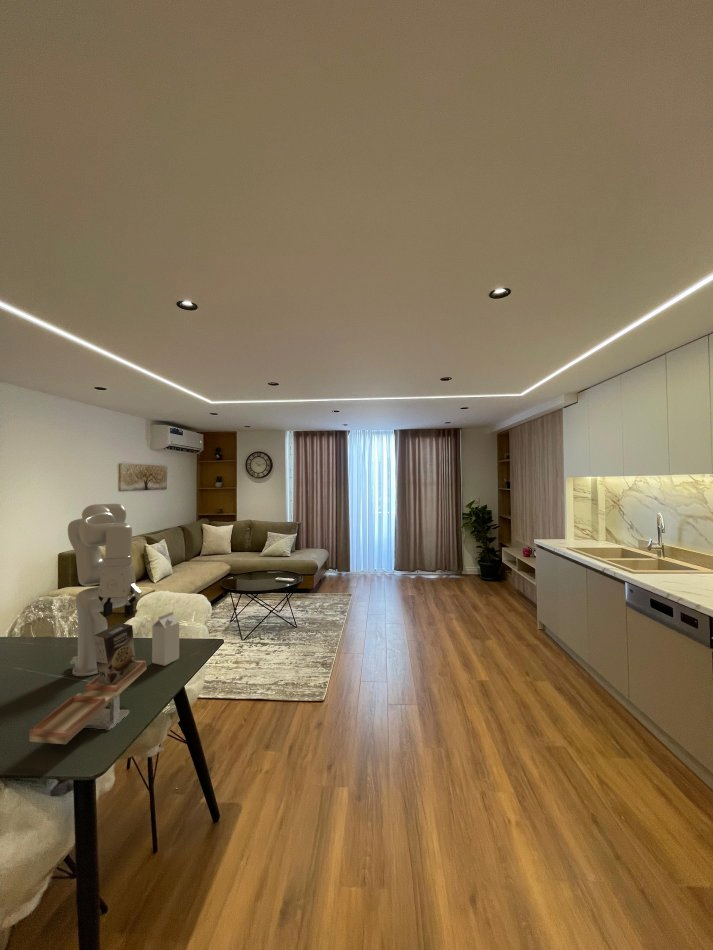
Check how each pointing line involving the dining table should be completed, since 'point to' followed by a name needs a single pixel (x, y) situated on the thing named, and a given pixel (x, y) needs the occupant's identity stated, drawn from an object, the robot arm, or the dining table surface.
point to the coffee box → (115, 653)
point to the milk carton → (165, 639)
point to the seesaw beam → (80, 709)
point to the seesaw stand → (108, 715)
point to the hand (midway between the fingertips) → (118, 615)
